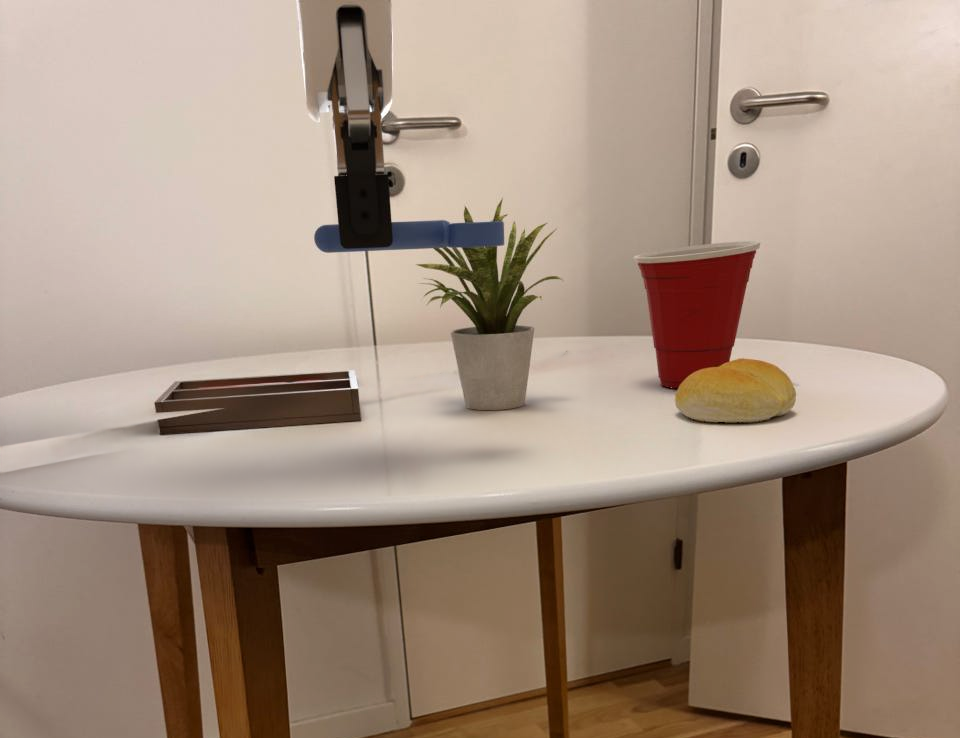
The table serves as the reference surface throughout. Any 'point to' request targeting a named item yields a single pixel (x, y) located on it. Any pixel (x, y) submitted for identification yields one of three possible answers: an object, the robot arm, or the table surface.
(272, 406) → the organiser
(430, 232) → the blue spoon
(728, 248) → the plastic cup
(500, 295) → the house plant
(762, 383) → the bread roll
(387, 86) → the robot arm
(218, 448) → the table surface
